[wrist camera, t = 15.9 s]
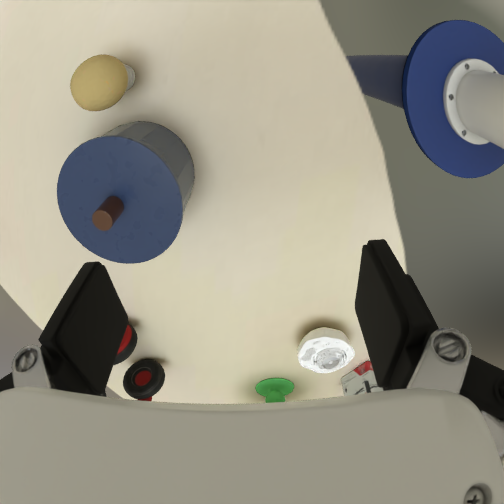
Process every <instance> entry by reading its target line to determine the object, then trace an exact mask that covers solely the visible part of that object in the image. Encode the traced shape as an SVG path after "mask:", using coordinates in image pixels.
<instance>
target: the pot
mask: <svg viewBox="0 0 504 504" xmlns="http://www.w3.org/2000/svg"><path fill="white" fill-rule="evenodd" d="M110 135H116V136H124V137H128V138H131V139H134V140H137V141H139V142H141V143H143V144H145V145H146V146H148V147H150V148H151V149H152V150H154V151H155V152H156V153H158V154H159V155H160V156H161V157H162V158H163V160H164V161H165V162H166V163H167V164H168V166H169V167H170V168H171V170H172V172H173V173H174V175H175V177H176V179H177V181H178V184H179V186H180V190H181V193H182V199H183V212H184V209H185V207H186V205H187V203H188V200H189V198H190V195H191V191H192V187H193V183H194V178H195V176H194V166H193V162H192V158H191V156H190V153H189V151H188V149H187V148H186V146H185V144H184V143H183V142H182V140H181V139H180V138H179V137H178V136H177V135H176V134H174V133H173V132H172V131H170V130H169V129H167V128H165V127H163V126H161V125H159V124H155V123H152V122H141V121H138V122H132V123H128V124H125V125H121V126H118V127H117V128H115V129H113V130H111V131H110V132H108V133H106V134H104V135H103V136H110Z"/></svg>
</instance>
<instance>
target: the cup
mask: <svg viewBox="0 0 504 504" xmlns="http://www.w3.org/2000/svg"><path fill="white" fill-rule="evenodd" d="M255 389H256V391H257V393H259V394H260V395H262V396H265V397H266V399H265V401H266V403H275V402H285V397H284V396H285V395H288V394H289V393H291V392H292V391H293V389H294V385H293V383H292V382H290V381H289V380H286V379H283V378H271V379H266V380H263V381H261V382H260V383H258V384H257V386H256V388H255Z"/></svg>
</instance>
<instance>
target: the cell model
mask: <svg viewBox="0 0 504 504" xmlns="http://www.w3.org/2000/svg"><path fill="white" fill-rule="evenodd" d="M297 354H298V359H299V362H300V365H301V366H302V367H304V368H307V369H310V370H312V371H314V372H317V373H330V372H334V371H336V370H338V369H341V368H343V367H344V366H346V365H347V364H348V363H349V362H350V361H351V360H352V359H353V358H354V356H355V352H354V350H353V348H352V346H351V344H350V341H349V339H348V338H347V336H346V335H345V334H344V333H343V332H342V331H340V330H336V329H332V328H326V327H322V328H317V329H315V330H312V331H311V332H309V333H308V334H307V335H306V336H305V337H304V338H303V339H302V341H301V343H300V345H299V347H298V349H297Z"/></svg>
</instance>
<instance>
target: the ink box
mask: <svg viewBox="0 0 504 504" xmlns="http://www.w3.org/2000/svg"><path fill="white" fill-rule="evenodd" d="M341 381H342V386H343V392H344V396H350V395H358V394H365V393H371V392H380V391H383V387H378V385H377V382H376V379H375V375H374V371H373V368H372V364H371V362H369V361H366V362H365V363H363V364H362V365H360V366H359V367H358V368H356V369H355V370H353V371H352V372H350V373H349V374H347V375H346V376H344V377H343V378H341Z"/></svg>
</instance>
